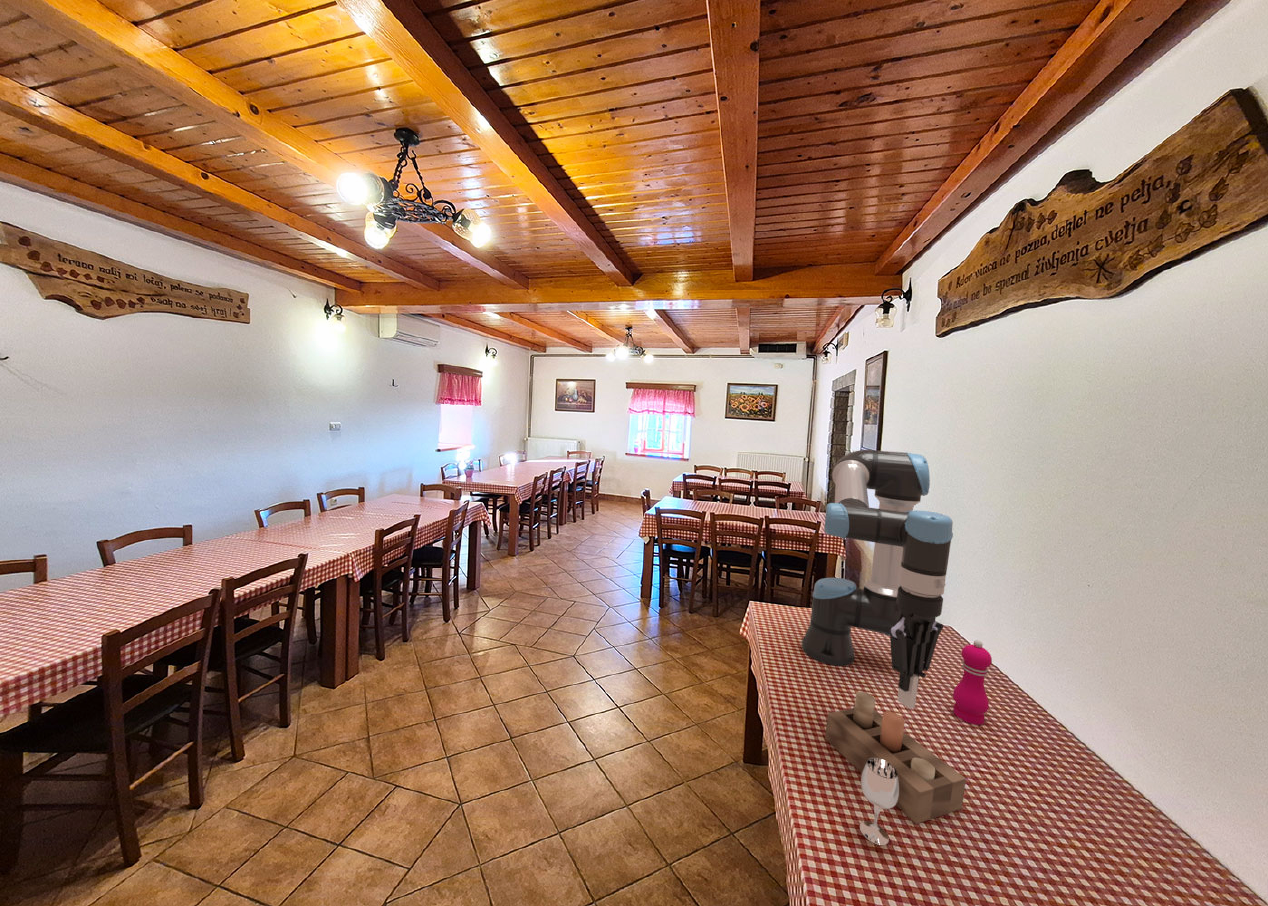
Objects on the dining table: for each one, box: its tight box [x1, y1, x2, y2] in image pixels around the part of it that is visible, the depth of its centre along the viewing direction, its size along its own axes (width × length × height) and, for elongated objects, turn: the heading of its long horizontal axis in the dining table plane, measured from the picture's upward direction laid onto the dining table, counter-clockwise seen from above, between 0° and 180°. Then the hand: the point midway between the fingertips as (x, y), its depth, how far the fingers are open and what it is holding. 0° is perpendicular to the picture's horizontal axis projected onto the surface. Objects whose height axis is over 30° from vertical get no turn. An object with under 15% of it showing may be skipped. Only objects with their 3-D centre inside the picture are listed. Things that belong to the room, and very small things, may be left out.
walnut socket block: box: [824, 707, 967, 825], centre depth 92 cm, size 22×12×6 cm, turn 20°
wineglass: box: [859, 758, 899, 846], centre depth 77 cm, size 6×6×12 cm
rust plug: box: [880, 711, 906, 752], centre depth 91 cm, size 4×4×6 cm
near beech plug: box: [911, 758, 935, 782], centre depth 85 cm, size 4×4×6 cm
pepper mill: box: [952, 639, 993, 726], centre depth 111 cm, size 7×7×20 cm
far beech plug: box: [853, 691, 876, 729], centre depth 98 cm, size 4×4×6 cm
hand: (905, 704), depth 89 cm, fingers closed
